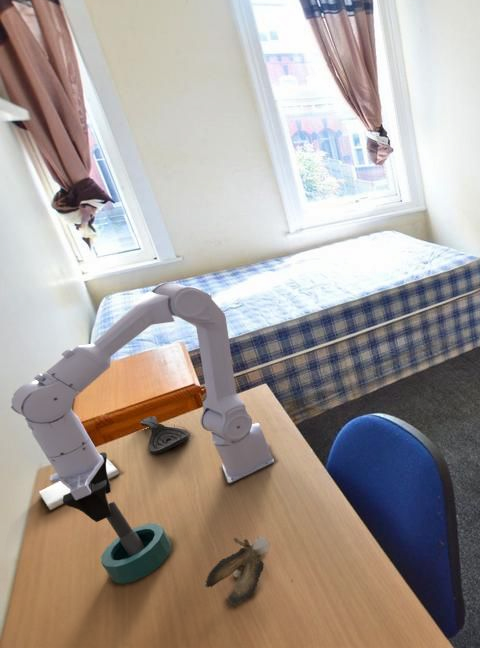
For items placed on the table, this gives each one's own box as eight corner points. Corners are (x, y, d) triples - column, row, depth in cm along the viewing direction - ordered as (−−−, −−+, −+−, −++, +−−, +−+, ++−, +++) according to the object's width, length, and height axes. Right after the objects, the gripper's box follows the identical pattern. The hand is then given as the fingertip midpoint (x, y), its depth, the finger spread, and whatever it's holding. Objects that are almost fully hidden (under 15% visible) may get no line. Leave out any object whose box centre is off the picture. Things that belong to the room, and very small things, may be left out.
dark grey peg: (149, 550, 86) (116, 500, 86) (146, 552, 84) (113, 500, 84) (134, 559, 85) (101, 509, 85) (131, 562, 83) (97, 510, 83)
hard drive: (41, 496, 104) (108, 462, 113) (51, 511, 99) (120, 474, 108) (38, 491, 103) (105, 456, 112) (47, 505, 99) (117, 468, 108)
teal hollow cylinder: (169, 531, 91) (160, 515, 89) (173, 561, 84) (164, 544, 83) (111, 559, 86) (101, 543, 84) (111, 593, 79) (100, 577, 78)
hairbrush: (159, 404, 130) (192, 429, 115) (164, 415, 131) (198, 441, 116) (123, 420, 124) (154, 449, 109) (130, 432, 126) (160, 461, 110)
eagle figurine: (226, 555, 83) (196, 596, 74) (240, 523, 82) (211, 561, 73) (268, 569, 84) (243, 612, 75) (282, 538, 83) (259, 577, 74)
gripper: (41, 437, 82) (77, 495, 87) (31, 480, 71) (72, 543, 77) (92, 419, 86) (123, 476, 91) (89, 457, 75) (125, 519, 81)
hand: (103, 505), depth 84 cm, fingers open, 7 cm apart
